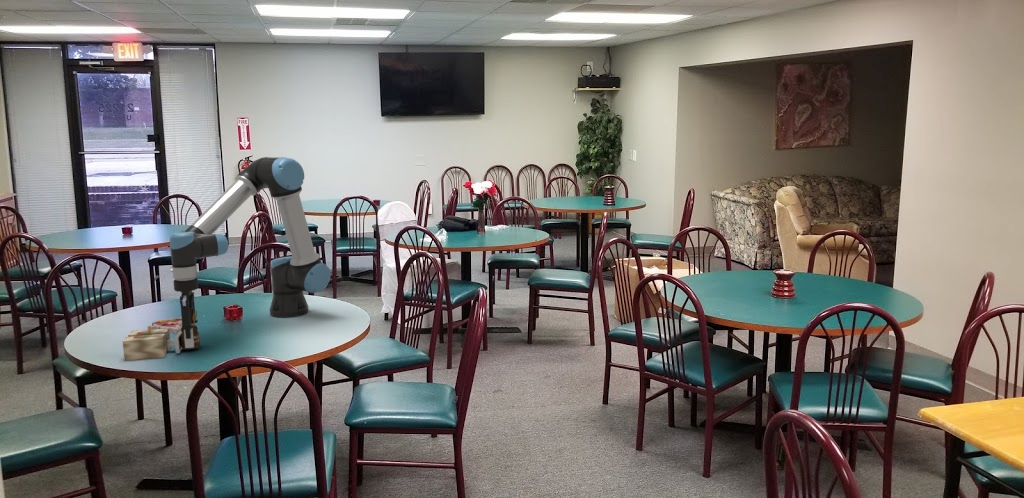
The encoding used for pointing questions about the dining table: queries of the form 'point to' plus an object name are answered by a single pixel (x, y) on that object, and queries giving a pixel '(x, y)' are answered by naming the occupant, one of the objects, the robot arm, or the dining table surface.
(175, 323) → the toy
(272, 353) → the dining table surface
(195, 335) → the utensil holder
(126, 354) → the beige box
